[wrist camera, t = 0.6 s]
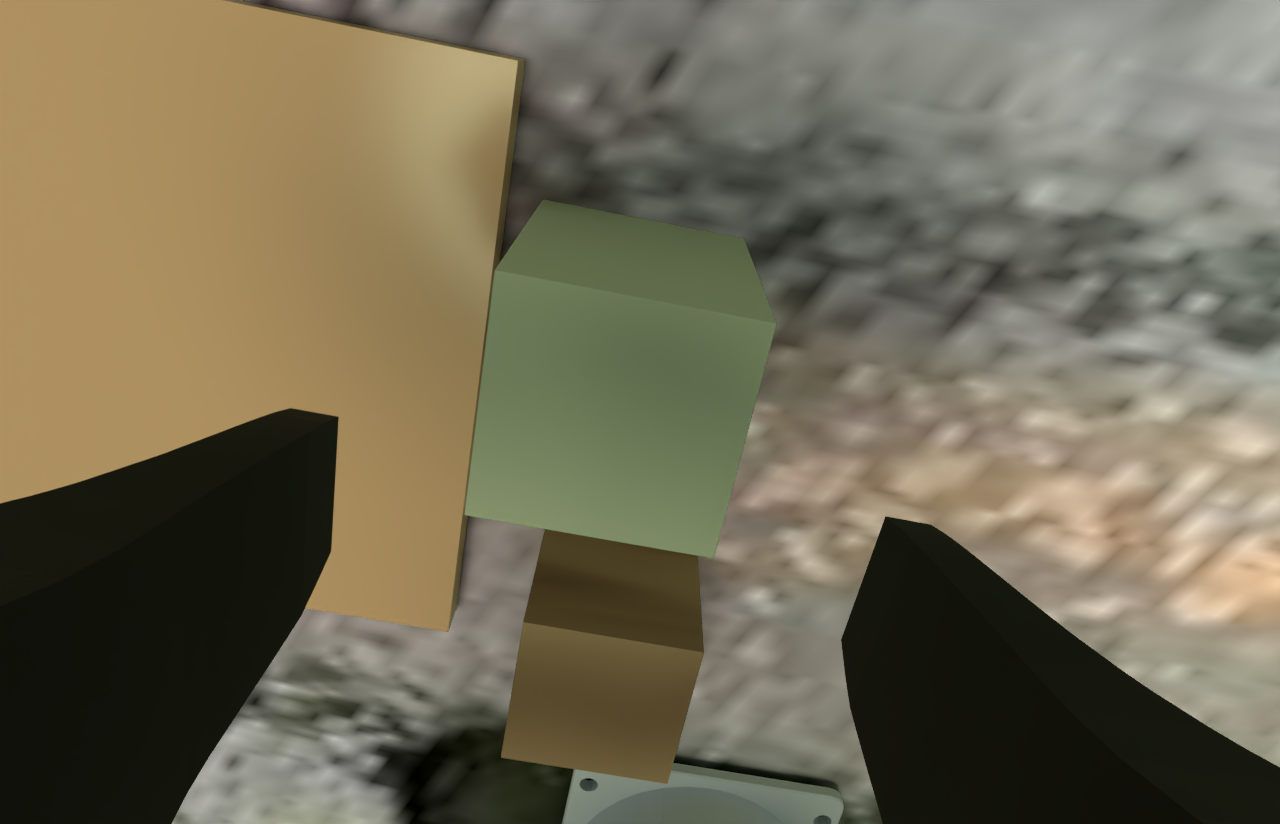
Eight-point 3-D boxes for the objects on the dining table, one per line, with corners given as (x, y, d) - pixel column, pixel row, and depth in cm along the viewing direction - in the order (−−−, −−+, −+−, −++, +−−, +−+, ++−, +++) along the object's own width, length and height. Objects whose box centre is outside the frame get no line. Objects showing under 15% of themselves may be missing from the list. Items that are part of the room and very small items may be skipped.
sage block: (699, 418, 21) (713, 558, 15) (516, 385, 21) (464, 515, 15) (743, 237, 19) (776, 323, 14) (543, 199, 19) (494, 269, 13)
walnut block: (666, 669, 24) (667, 783, 21) (525, 646, 24) (500, 757, 20) (696, 551, 23) (703, 652, 19) (546, 525, 22) (523, 621, 19)
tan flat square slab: (456, 608, 23) (447, 631, 22) (-76, 518, 23) (-108, 539, 22) (525, 58, 18) (517, 60, 17) (-183, -86, 17) (-232, -93, 16)
